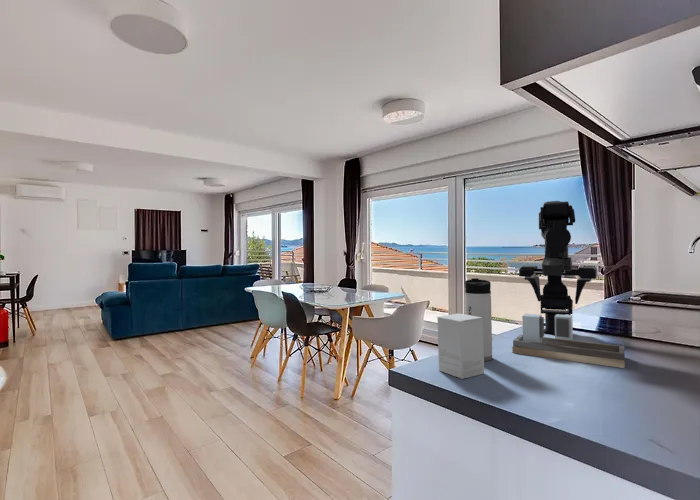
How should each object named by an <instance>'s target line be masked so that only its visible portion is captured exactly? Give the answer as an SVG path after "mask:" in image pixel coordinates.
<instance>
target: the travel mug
mask: <svg viewBox="0 0 700 500" xmlns="http://www.w3.org/2000/svg"><path fill="white" fill-rule="evenodd" d="M491 283H492V282H491V281H490V280H486V279H480V278H478V277H477V278H471V279H467V280H465V281H464V289H465V290H464V294H465V295H464V304H465V307H464V308H465V315H471V316H476V317H482V318H483V344H484V362H489V361H491V360H493V336H492V335H493V332H492V331H493V330H492V329H493V327H492V326H493V325H492V324H493V322H492V321H493V320H492V319H493V317H492V292H491V291H492V290H491V286H492V284H491Z"/></svg>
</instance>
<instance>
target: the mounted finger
mask: <svg viewBox="0 0 700 500" xmlns="http://www.w3.org/2000/svg"><path fill="white" fill-rule="evenodd" d="M521 317H522V335H523V341H527V342H535V343H542V338H543V337H545V333H544V329H545V318H544V317H545V316H542V314H537V313H535V314H534V313H524V314H523V315H522V316H521Z"/></svg>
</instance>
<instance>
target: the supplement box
mask: <svg viewBox="0 0 700 500" xmlns="http://www.w3.org/2000/svg"><path fill="white" fill-rule="evenodd" d="M437 346H438V347H437V349H438V371H440V372H442V373H445V374H448V375H450V376H453V377H455V378H458V379H461V380H463V379H467V378H471V377H476V376H479V375H483V374H485V361H484V344H483V318H482V317H476V316H471V315H465V314H463V313H452V314H447V315H441V316H437Z"/></svg>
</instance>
